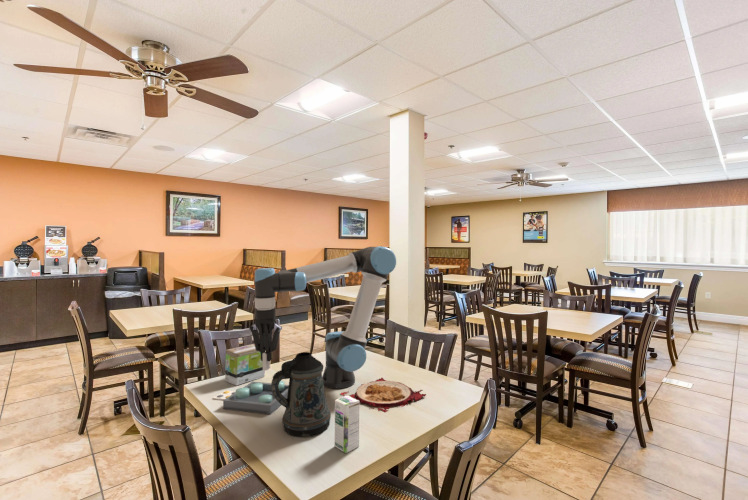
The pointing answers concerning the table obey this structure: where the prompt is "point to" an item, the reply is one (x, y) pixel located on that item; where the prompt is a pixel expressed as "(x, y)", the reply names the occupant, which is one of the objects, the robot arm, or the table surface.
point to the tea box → (243, 365)
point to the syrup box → (346, 423)
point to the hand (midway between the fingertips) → (266, 369)
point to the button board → (254, 401)
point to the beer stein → (303, 396)
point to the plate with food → (385, 394)
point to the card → (224, 395)
